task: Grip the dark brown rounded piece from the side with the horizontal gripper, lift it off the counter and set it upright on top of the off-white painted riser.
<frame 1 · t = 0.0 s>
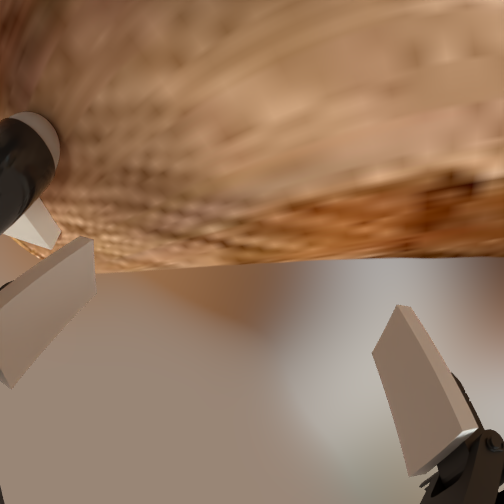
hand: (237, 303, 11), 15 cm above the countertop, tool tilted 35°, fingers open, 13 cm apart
riser: (16, 198, 36), on the countertop
dark brown rounded piece: (41, 130, 24), on the countertop
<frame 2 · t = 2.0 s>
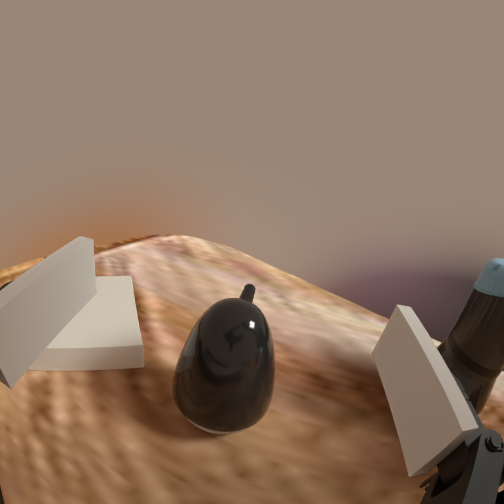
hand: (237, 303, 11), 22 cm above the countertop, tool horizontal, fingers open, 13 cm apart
riser: (84, 329, 34), on the countertop
dark brown rounded piece: (218, 410, 29), on the countertop
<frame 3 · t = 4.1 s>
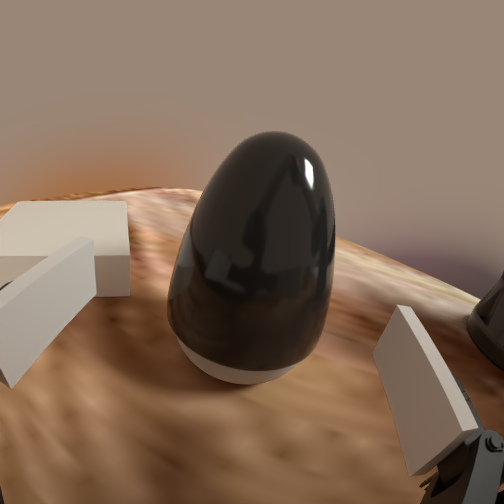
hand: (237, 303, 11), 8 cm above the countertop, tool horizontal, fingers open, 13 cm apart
riser: (59, 256, 26), on the countertop
dark brown rounded piece: (236, 354, 20), on the countertop
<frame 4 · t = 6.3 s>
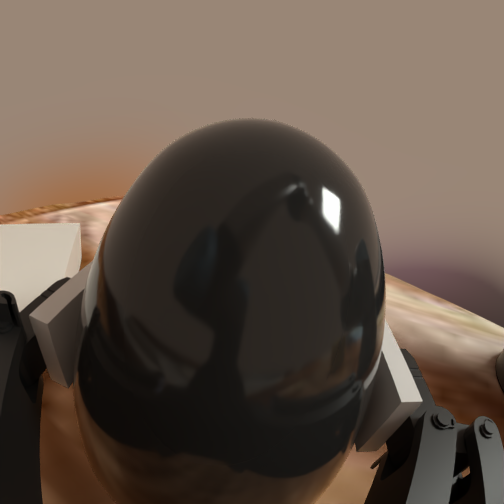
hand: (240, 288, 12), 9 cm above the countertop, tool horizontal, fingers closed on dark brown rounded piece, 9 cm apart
dark brown rounded piece: (203, 466, 11), on the countertop, touching gripper
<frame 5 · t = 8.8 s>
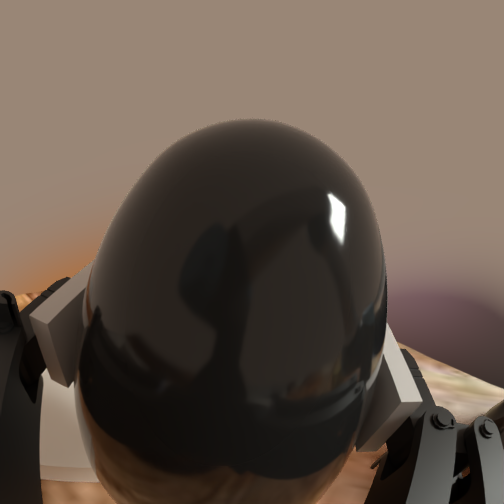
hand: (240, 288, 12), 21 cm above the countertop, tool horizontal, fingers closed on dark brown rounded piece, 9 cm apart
riser: (80, 415, 22), on the countertop
dark brown rounded piece: (204, 466, 11), point 12 cm above the countertop, touching gripper
when the fingers open (14 cm above the countertop, at t = 11.6 s): dark brown rounded piece drops 1 cm, resting on riser.
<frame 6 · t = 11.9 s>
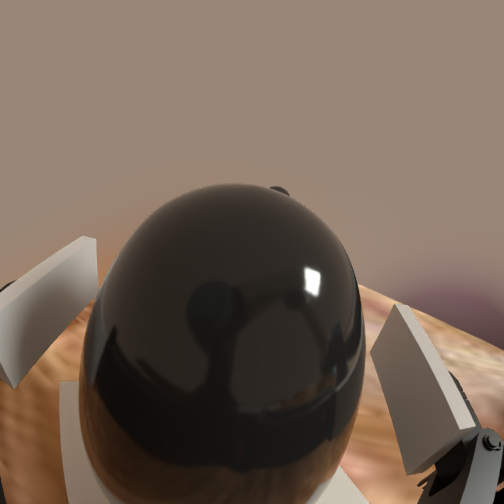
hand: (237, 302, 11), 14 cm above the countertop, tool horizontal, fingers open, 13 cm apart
riser: (198, 491, 14), on the countertop
dark brown rounded piece: (202, 477, 12), point 4 cm above the countertop, touching riser
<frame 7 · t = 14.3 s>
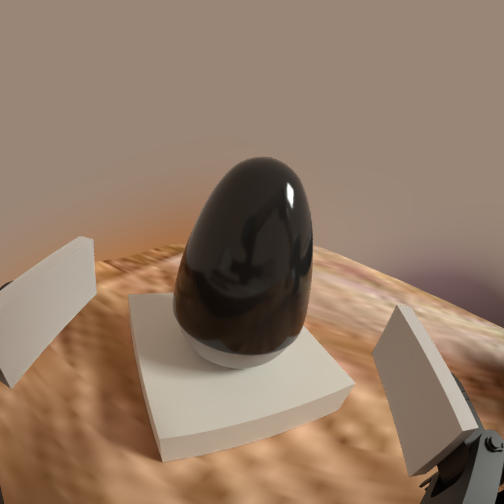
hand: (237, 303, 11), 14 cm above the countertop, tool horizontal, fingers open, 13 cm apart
riser: (224, 371, 25), on the countertop
dark brown rounded piece: (231, 344, 24), point 4 cm above the countertop, touching riser
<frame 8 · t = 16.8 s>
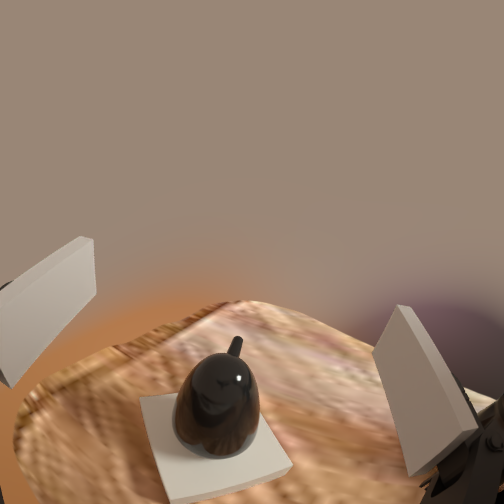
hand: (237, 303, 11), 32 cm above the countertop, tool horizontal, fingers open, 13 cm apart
riser: (208, 447, 33), on the countertop
dark brown rounded piece: (211, 436, 31), point 4 cm above the countertop, touching riser
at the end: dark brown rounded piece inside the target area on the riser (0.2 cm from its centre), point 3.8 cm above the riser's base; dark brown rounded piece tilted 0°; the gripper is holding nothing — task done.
